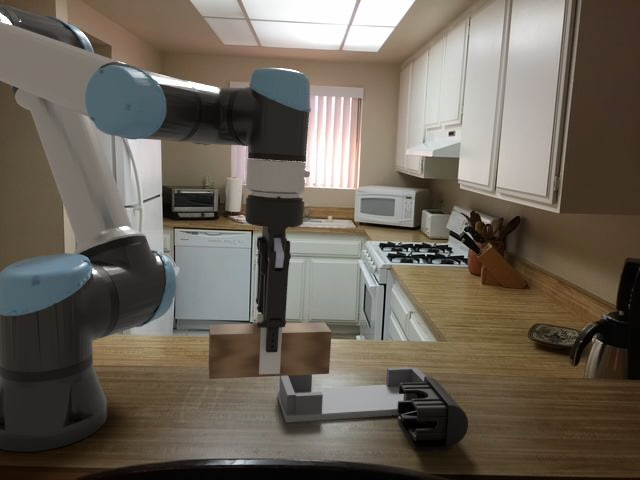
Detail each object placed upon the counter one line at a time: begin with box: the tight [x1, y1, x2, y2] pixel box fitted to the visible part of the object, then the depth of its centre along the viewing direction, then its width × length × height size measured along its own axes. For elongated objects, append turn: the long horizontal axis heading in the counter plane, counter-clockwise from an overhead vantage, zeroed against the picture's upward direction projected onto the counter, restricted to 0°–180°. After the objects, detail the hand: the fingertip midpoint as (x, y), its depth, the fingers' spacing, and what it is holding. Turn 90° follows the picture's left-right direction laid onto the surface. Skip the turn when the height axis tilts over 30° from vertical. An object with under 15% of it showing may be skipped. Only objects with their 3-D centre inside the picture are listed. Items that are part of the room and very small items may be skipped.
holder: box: [277, 366, 426, 423], centre depth 85 cm, size 24×9×4 cm, turn 102°
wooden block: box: [208, 321, 333, 380], centre depth 72 cm, size 16×4×6 cm, turn 103°
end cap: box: [397, 375, 469, 452], centre depth 76 cm, size 10×7×7 cm
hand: (267, 365), depth 73 cm, fingers closed on wooden block, 4 cm apart
